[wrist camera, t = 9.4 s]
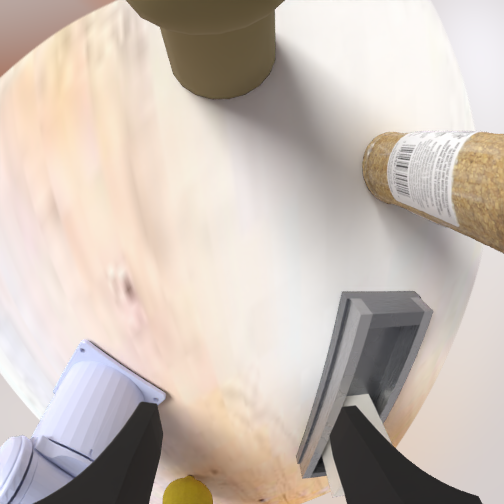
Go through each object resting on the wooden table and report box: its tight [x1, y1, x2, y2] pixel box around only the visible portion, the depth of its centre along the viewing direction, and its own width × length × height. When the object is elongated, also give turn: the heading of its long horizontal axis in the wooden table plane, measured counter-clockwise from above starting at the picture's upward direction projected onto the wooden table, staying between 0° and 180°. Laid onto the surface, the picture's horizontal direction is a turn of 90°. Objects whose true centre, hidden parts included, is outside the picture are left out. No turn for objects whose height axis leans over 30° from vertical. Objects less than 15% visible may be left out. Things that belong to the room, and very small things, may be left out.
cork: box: [126, 0, 285, 99], centre depth 9 cm, size 6×6×11 cm
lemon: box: [163, 476, 213, 504], centre depth 23 cm, size 6×6×8 cm
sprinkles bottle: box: [363, 131, 504, 253], centre depth 10 cm, size 5×5×13 cm
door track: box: [296, 291, 433, 479], centre depth 21 cm, size 20×6×3 cm, turn 176°
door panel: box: [322, 394, 392, 497], centre depth 20 cm, size 8×2×6 cm, turn 176°
